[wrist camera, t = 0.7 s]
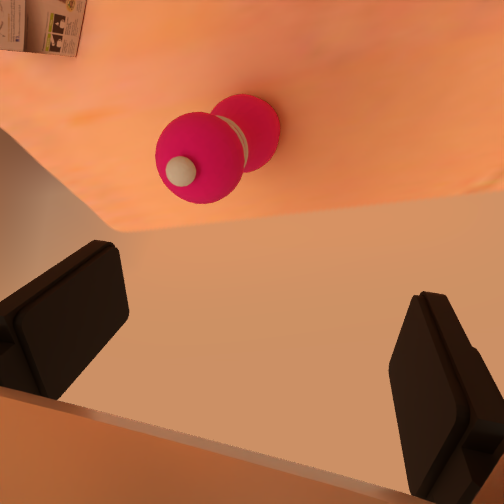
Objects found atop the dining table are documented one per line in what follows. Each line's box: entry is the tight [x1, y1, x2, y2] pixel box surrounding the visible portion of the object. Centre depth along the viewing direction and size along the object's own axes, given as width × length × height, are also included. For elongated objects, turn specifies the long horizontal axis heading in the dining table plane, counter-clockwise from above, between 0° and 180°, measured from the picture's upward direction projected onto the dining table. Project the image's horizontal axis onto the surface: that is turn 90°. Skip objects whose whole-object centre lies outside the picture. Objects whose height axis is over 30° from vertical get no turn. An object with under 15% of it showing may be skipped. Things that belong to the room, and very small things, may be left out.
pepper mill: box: [155, 94, 280, 204], centre depth 27 cm, size 7×7×20 cm
